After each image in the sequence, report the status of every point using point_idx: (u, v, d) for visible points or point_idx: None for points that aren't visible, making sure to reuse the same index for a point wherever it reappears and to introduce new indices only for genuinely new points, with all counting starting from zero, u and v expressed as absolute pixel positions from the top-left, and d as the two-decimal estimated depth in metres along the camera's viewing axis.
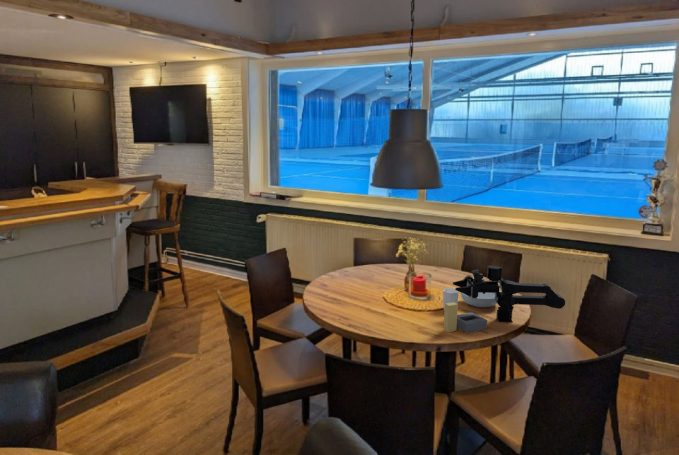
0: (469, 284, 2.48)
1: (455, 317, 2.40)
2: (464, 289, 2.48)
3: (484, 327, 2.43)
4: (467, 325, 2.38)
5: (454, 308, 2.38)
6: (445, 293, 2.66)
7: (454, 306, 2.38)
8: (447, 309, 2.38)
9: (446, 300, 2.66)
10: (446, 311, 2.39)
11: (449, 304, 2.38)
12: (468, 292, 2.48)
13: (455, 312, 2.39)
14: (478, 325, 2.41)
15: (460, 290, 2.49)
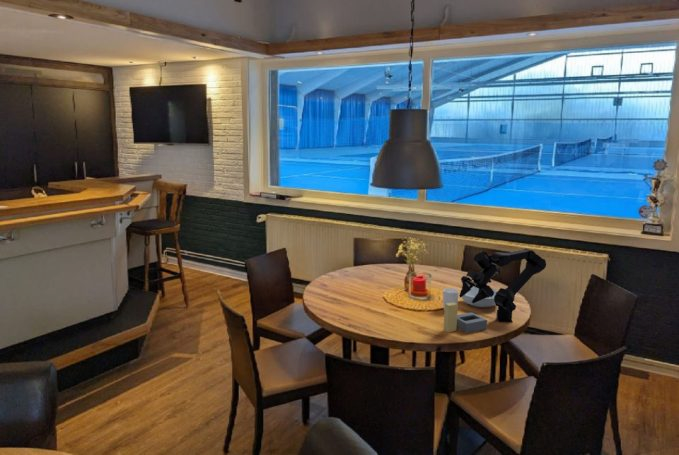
0: None
1: (455, 317, 2.40)
2: (479, 296, 2.38)
3: (484, 327, 2.43)
4: (467, 325, 2.38)
5: (454, 308, 2.38)
6: (445, 293, 2.66)
7: (454, 306, 2.38)
8: (447, 309, 2.38)
9: (446, 300, 2.66)
10: (446, 311, 2.39)
11: (449, 304, 2.38)
12: (483, 295, 2.39)
13: (455, 312, 2.39)
14: (478, 325, 2.41)
15: (477, 300, 2.38)
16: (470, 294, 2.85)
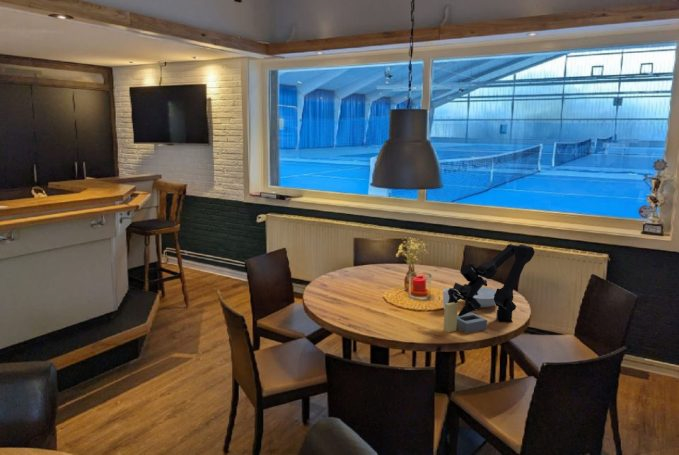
0: (465, 302, 2.36)
1: (455, 317, 2.40)
2: (465, 309, 2.36)
3: (484, 327, 2.43)
4: (467, 325, 2.38)
5: (454, 308, 2.38)
6: (445, 293, 2.66)
7: (454, 306, 2.38)
8: (447, 309, 2.38)
9: (446, 300, 2.66)
10: (446, 311, 2.39)
11: (449, 304, 2.38)
12: (470, 308, 2.36)
13: (455, 312, 2.39)
14: (478, 325, 2.41)
15: (463, 313, 2.36)
16: None
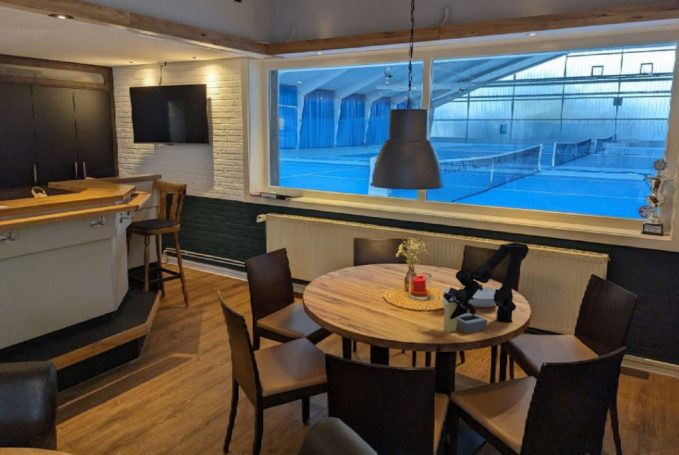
0: None
1: None
2: (457, 312, 2.37)
3: (484, 327, 2.43)
4: (467, 325, 2.38)
5: (454, 308, 2.38)
6: None
7: (454, 306, 2.38)
8: (447, 309, 2.38)
9: (446, 300, 2.66)
10: (446, 311, 2.39)
11: (449, 304, 2.38)
12: (461, 311, 2.38)
13: None
14: (478, 325, 2.41)
15: (455, 316, 2.38)
16: None
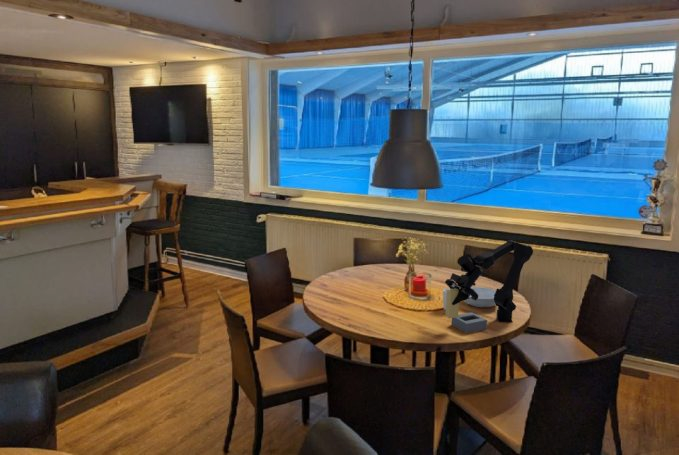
0: None
1: (457, 303, 2.39)
2: (459, 298, 2.37)
3: (484, 327, 2.43)
4: (467, 325, 2.38)
5: (456, 294, 2.37)
6: (445, 293, 2.66)
7: (456, 292, 2.37)
8: (449, 295, 2.37)
9: None
10: (448, 297, 2.38)
11: (451, 290, 2.37)
12: (463, 297, 2.37)
13: None
14: (478, 325, 2.41)
15: (457, 301, 2.37)
16: None
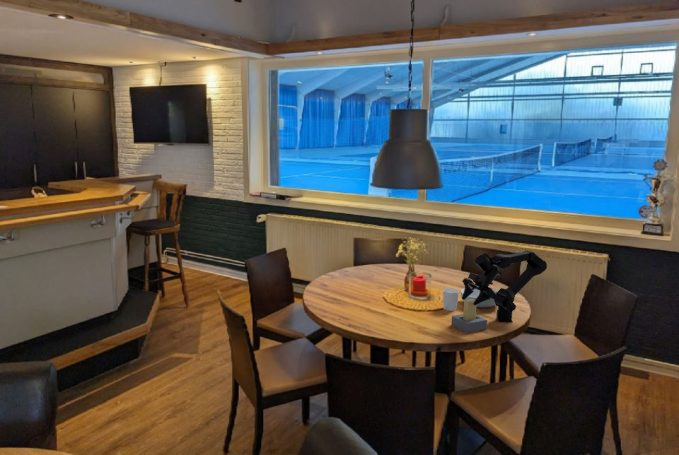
0: (480, 291, 2.39)
1: (474, 314, 2.44)
2: (480, 298, 2.39)
3: (484, 327, 2.43)
4: (467, 325, 2.38)
5: (473, 305, 2.43)
6: (445, 293, 2.66)
7: None
8: (466, 306, 2.42)
9: (446, 300, 2.66)
10: (465, 308, 2.43)
11: (468, 301, 2.43)
12: (484, 297, 2.39)
13: (474, 309, 2.44)
14: (478, 325, 2.41)
15: (478, 302, 2.39)
16: (470, 294, 2.85)
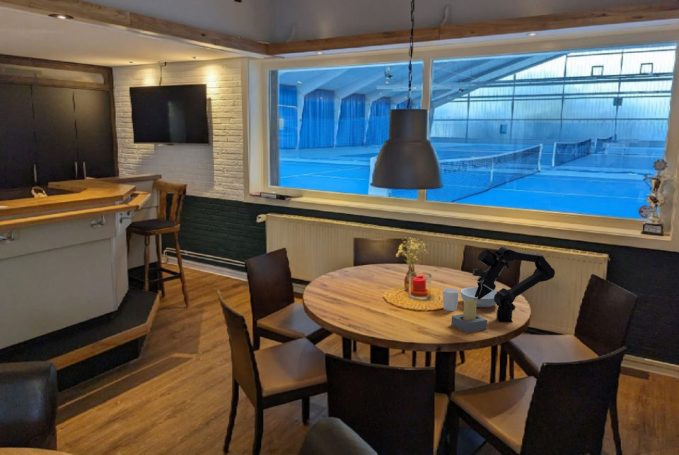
0: (480, 284, 2.44)
1: (474, 314, 2.44)
2: (482, 291, 2.43)
3: (484, 327, 2.43)
4: (467, 325, 2.38)
5: (473, 305, 2.43)
6: (445, 293, 2.66)
7: (473, 303, 2.43)
8: (466, 306, 2.43)
9: (446, 300, 2.66)
10: (465, 308, 2.43)
11: (468, 301, 2.43)
12: (487, 290, 2.43)
13: (474, 309, 2.44)
14: (478, 325, 2.41)
15: (481, 295, 2.44)
16: (470, 294, 2.85)
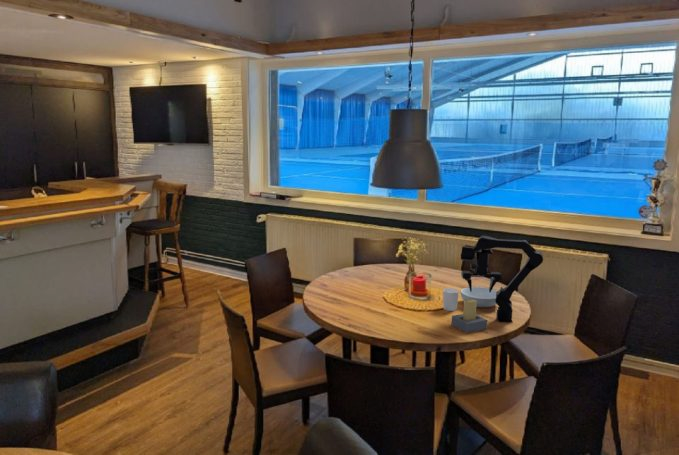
0: None
1: (474, 314, 2.44)
2: (468, 283, 2.57)
3: (484, 327, 2.43)
4: (467, 325, 2.38)
5: (473, 305, 2.43)
6: (445, 293, 2.66)
7: (473, 303, 2.43)
8: (466, 306, 2.43)
9: (446, 300, 2.66)
10: (465, 308, 2.43)
11: (468, 301, 2.43)
12: None
13: (474, 309, 2.44)
14: (478, 325, 2.41)
15: (469, 287, 2.56)
16: (470, 294, 2.85)
